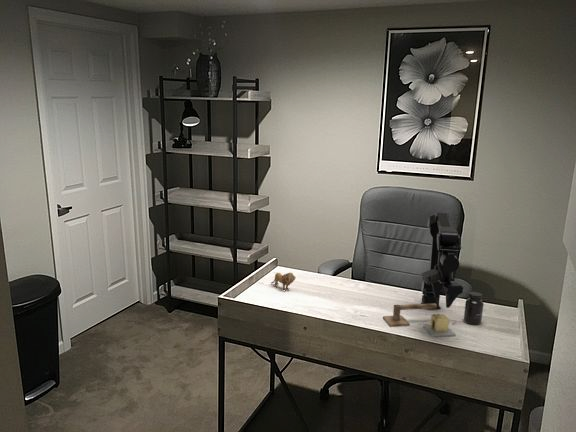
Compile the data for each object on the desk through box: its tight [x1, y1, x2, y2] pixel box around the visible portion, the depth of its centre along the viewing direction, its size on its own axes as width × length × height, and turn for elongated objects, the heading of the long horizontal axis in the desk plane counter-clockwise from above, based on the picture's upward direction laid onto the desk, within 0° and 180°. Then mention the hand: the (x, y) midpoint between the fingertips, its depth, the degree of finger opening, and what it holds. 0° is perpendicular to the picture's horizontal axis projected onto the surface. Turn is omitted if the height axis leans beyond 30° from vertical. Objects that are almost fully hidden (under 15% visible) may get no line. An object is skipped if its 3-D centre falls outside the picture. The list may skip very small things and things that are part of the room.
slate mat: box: [422, 324, 457, 338], centre depth 184 cm, size 9×9×1 cm
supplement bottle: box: [463, 291, 485, 326], centre depth 193 cm, size 7×7×12 cm
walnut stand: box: [382, 303, 437, 328], centre depth 192 cm, size 20×8×7 cm, turn 99°
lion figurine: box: [270, 272, 297, 291], centre depth 225 cm, size 15×5×9 cm, turn 47°
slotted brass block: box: [430, 313, 450, 333], centre depth 184 cm, size 5×5×6 cm
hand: (441, 302), depth 182 cm, fingers open, 9 cm apart
